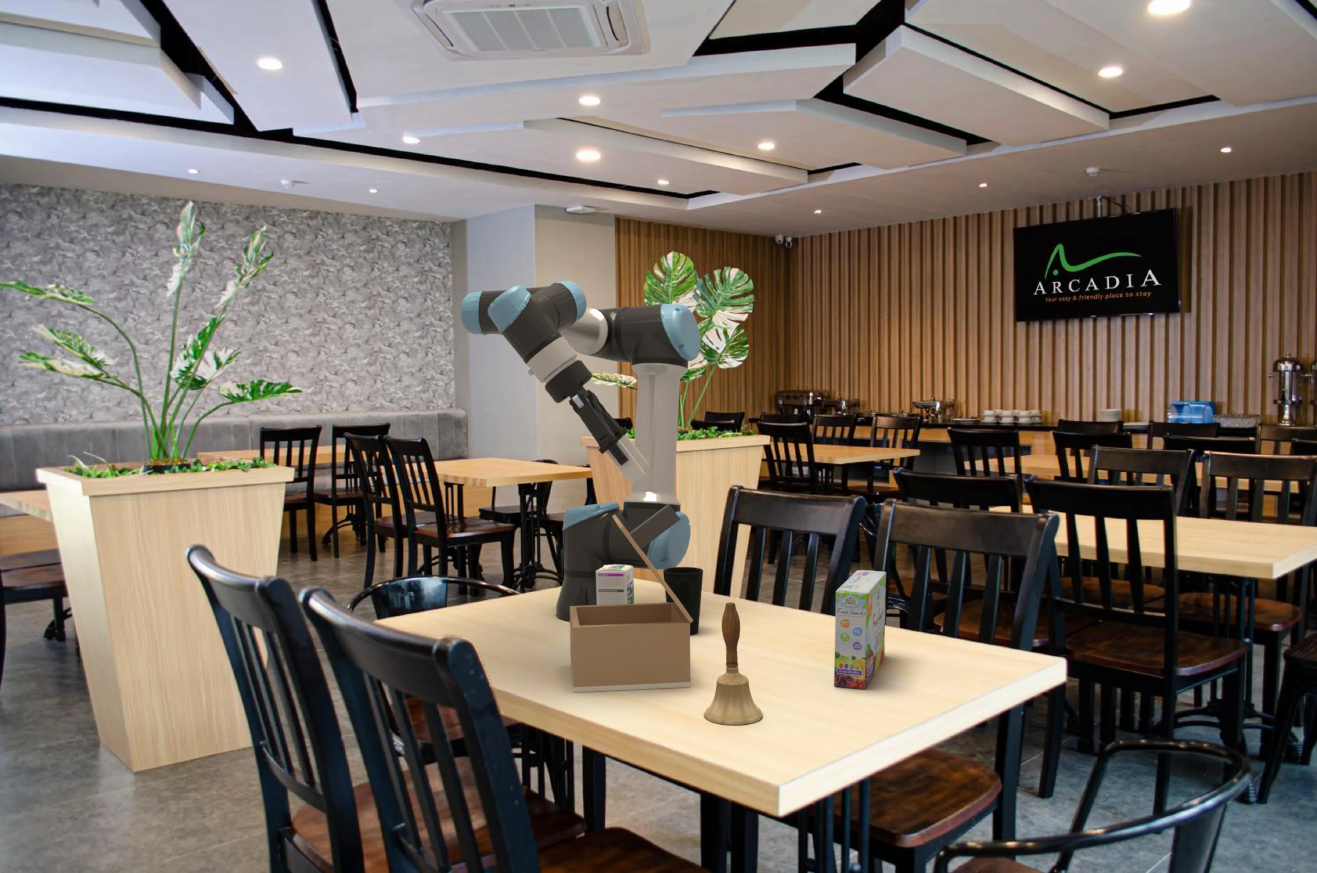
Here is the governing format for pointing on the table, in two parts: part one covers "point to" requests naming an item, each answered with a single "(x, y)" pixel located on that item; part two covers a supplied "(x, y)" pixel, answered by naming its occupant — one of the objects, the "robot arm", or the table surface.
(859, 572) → the snack box
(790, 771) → the table surface
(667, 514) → the carton flap
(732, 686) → the hand bell
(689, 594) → the cup
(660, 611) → the carton
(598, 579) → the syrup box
